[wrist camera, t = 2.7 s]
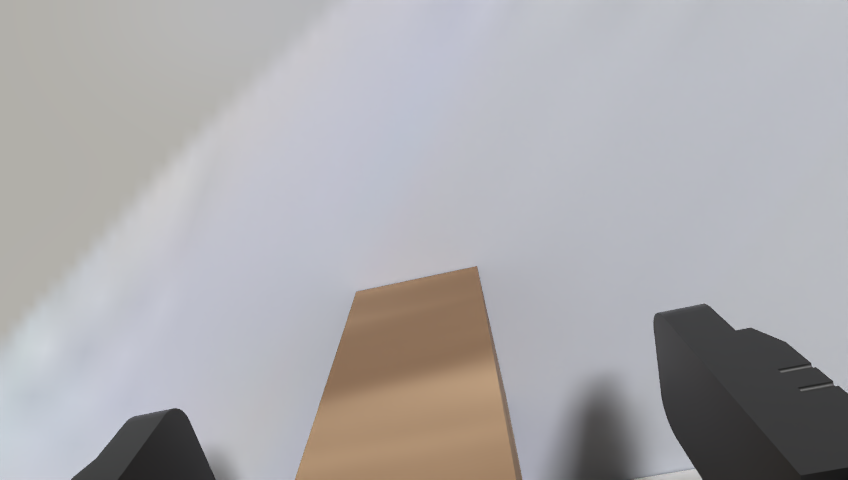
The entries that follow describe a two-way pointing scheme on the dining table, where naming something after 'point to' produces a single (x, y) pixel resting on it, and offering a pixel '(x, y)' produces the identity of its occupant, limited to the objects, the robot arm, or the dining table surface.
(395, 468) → the wooden stamp block
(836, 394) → the robot arm
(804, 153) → the dining table surface
